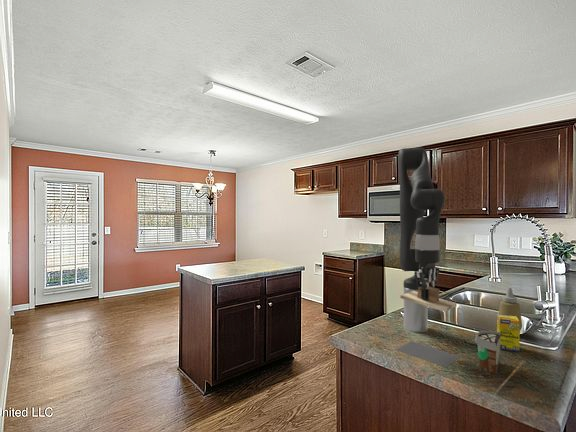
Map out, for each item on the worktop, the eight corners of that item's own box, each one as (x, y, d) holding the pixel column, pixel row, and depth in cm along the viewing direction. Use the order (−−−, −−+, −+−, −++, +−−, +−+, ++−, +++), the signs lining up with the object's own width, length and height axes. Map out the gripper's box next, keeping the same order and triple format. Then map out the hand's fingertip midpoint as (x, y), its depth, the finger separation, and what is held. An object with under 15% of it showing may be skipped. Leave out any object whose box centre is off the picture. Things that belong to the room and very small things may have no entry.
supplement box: (499, 349, 110) (499, 318, 110) (496, 343, 116) (496, 313, 116) (520, 352, 108) (520, 321, 108) (516, 346, 113) (516, 316, 113)
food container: (478, 357, 104) (478, 327, 104) (500, 362, 101) (500, 331, 100) (471, 371, 95) (471, 338, 95) (495, 378, 91) (495, 344, 91)
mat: (411, 342, 117) (411, 341, 117) (460, 358, 104) (460, 356, 104) (395, 350, 110) (395, 349, 110) (446, 369, 97) (446, 367, 97)
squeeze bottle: (495, 333, 126) (495, 288, 125) (500, 327, 131) (500, 284, 131) (520, 338, 120) (520, 291, 120) (523, 332, 126) (524, 287, 126)
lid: (413, 293, 115) (414, 280, 115) (456, 306, 104) (457, 291, 103) (400, 298, 109) (401, 283, 109) (444, 311, 98) (446, 296, 98)
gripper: (426, 245, 114) (426, 293, 114) (406, 248, 105) (406, 300, 105) (447, 247, 108) (447, 297, 108) (428, 250, 99) (428, 305, 99)
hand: (427, 298), depth 107 cm, fingers closed on lid, 3 cm apart
